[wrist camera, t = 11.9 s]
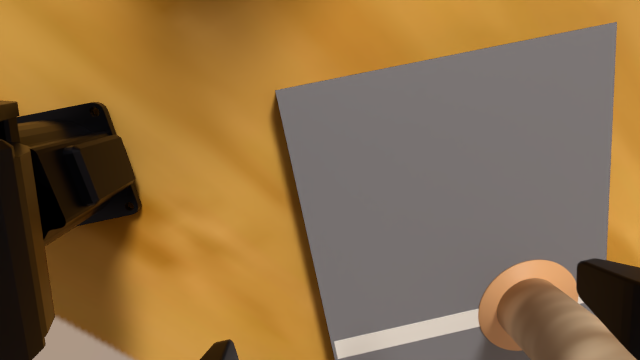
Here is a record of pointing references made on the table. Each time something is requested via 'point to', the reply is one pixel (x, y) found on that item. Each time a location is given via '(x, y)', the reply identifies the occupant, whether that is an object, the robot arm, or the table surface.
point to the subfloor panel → (452, 190)
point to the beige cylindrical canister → (555, 325)
